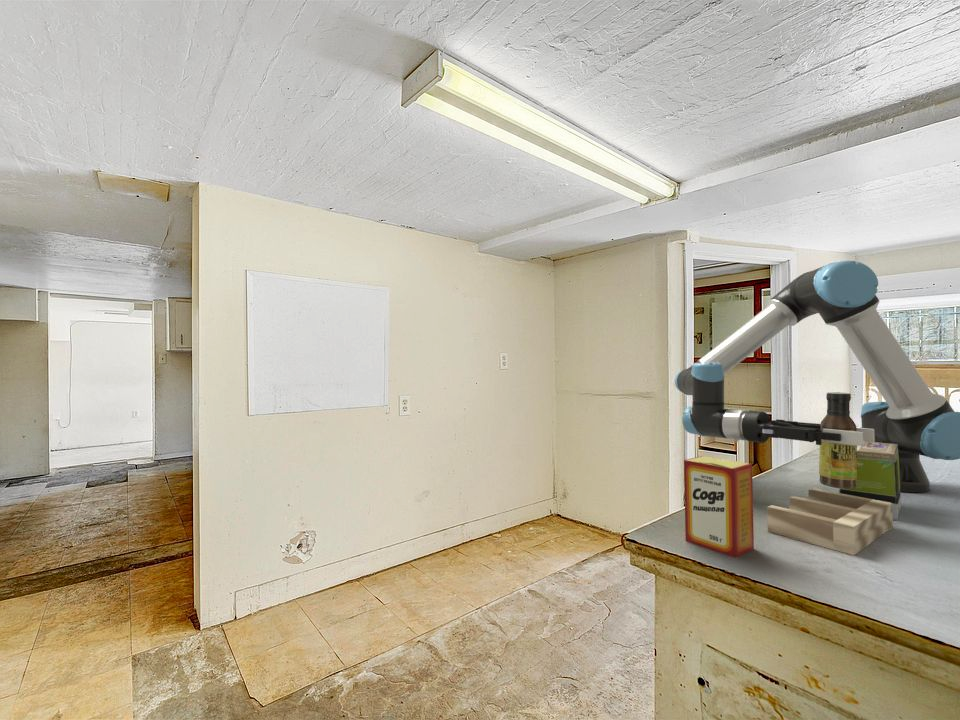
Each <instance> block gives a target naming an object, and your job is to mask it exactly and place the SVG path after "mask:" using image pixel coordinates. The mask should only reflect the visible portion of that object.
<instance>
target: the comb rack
mask: <svg viewBox="0 0 960 720" xmlns="http://www.w3.org/2000/svg"><path fill="white" fill-rule="evenodd" d="M788 500H789V501H788V502H789V505H788V506H789V508H786V507H782V506H778V505H773V504H771V505H769V506H766V515H767V516H766V517H767V519H766V520H767V521H766V523H767V526H766V527H767V533H771V532H772V533H771V534H774V533H775V535H778V534H779V535H780V536H781V537H786V538H790V539H793V540H797V541H801V542H805V543H807V544H811V545H816V546H819V547H823V548H827V549H830V550H834V551H837V552H842V553H844V554H849V555H852V556H856V555H857V554H858V553H859V552H861V551H862V550H863V549H864V548H866V547H868V546H869V545H870V544H872V543H873V542H874V541H876V540H877V539H878V537H879V538H880V537H881V536H883V535H884V534H885V533H887V532H888V531H889V529H890V528H891V529H893V526H894V525H893V523H894V520H893V516H892V503H890V502H885V501H879V500H874V499H868V498H863V497H858V496H852V495H847V494H841V493H839V492H834V491H830V490H824V489H820V488H819V489H818V488H814V487H812V488H809V489H808V498H804V497H799V496H796V495H795V496H794V495H792V496H790V497H789V498H788ZM891 529H890V530H891ZM887 530H888V531H887ZM886 531H887V532H886ZM882 534H883V535H882ZM779 535H778V536H779Z"/></svg>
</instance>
